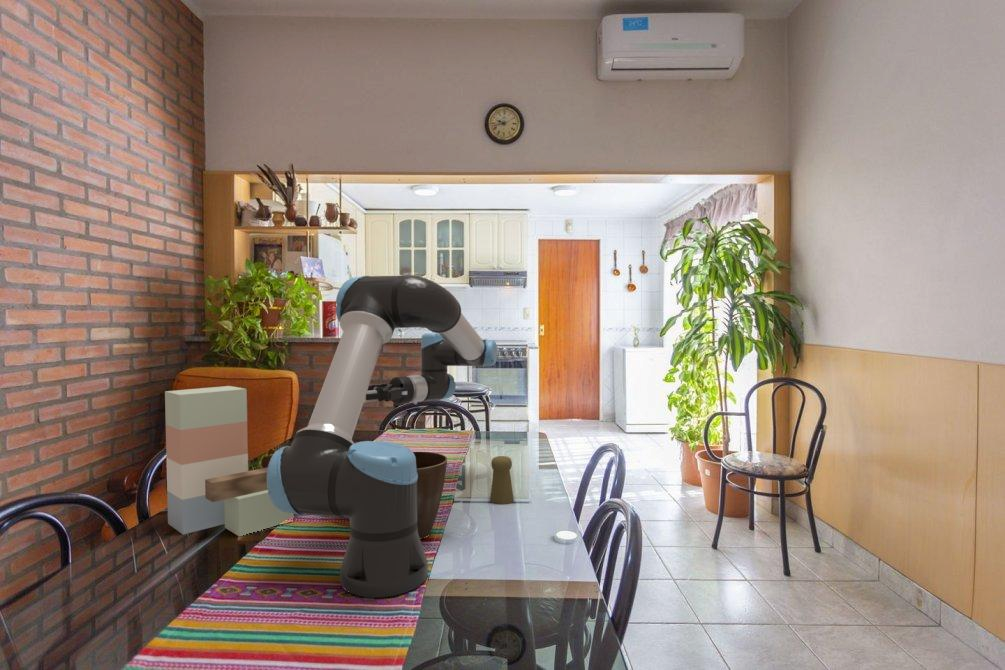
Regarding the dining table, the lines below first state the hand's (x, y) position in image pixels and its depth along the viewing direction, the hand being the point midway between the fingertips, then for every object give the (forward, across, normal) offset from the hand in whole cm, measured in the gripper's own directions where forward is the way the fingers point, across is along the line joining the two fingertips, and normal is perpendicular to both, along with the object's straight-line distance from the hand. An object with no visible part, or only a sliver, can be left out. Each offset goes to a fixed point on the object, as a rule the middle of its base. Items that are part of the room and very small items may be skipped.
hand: (338, 395), depth 141 cm
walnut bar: (+17, 0, -19) cm, 26 cm away
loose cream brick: (+20, 0, -27) cm, 34 cm away
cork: (-29, -29, -27) cm, 49 cm away
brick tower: (+26, +11, -27) cm, 40 cm away
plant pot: (0, -30, -28) cm, 41 cm away
